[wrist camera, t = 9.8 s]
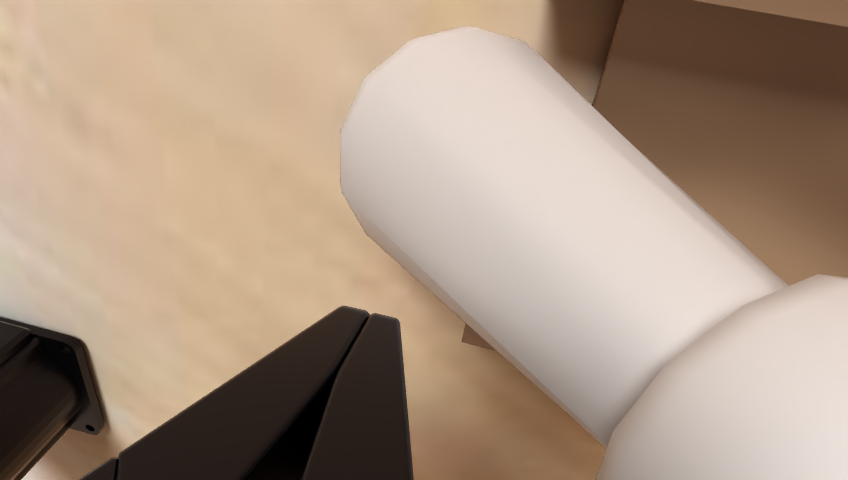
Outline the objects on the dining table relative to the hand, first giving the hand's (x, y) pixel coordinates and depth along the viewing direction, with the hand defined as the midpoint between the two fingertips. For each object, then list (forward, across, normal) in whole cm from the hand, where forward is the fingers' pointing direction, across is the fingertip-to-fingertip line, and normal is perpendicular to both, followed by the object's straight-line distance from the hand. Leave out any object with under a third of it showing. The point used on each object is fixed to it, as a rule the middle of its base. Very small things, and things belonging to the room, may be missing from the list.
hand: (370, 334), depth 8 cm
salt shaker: (+9, +1, 0) cm, 9 cm away
